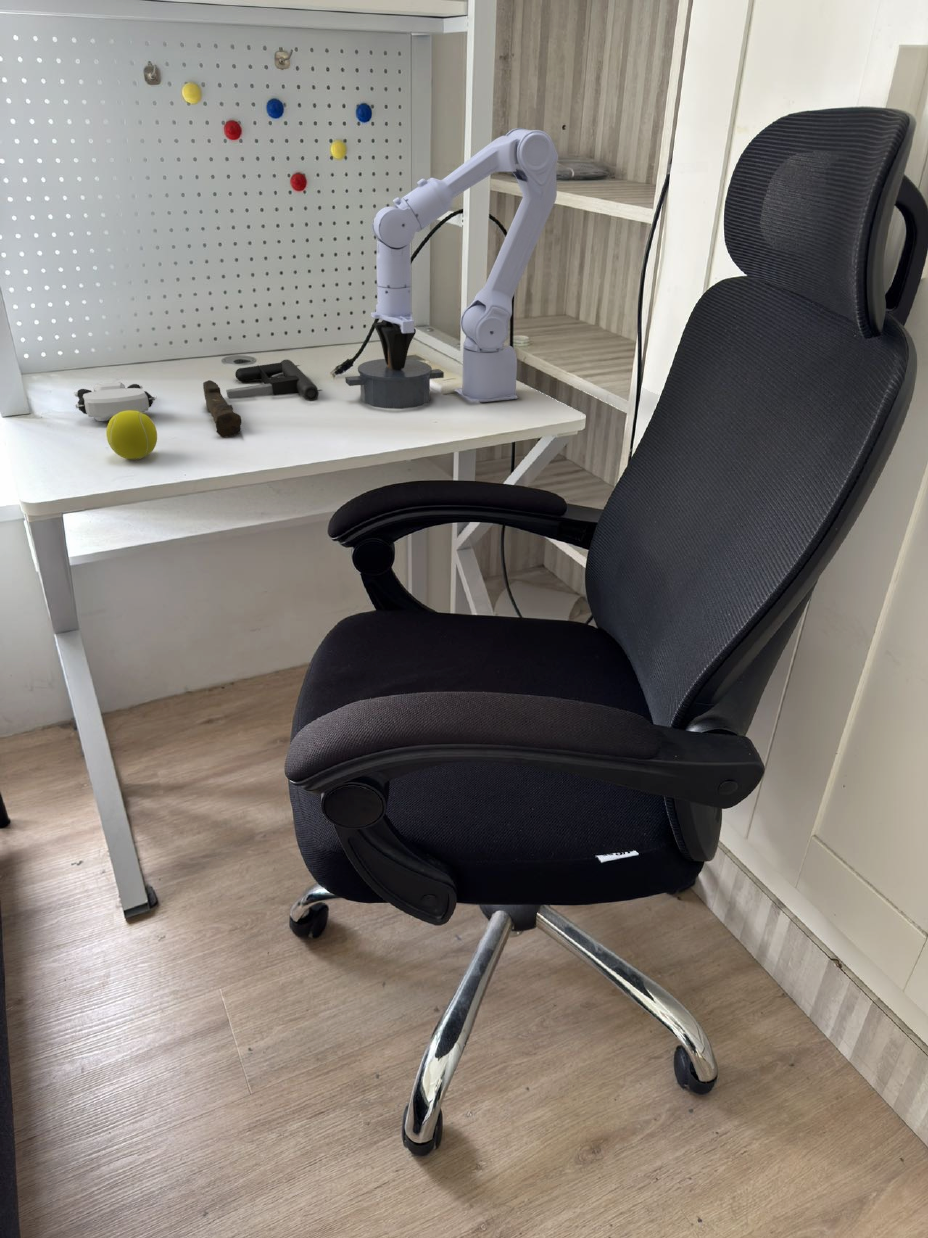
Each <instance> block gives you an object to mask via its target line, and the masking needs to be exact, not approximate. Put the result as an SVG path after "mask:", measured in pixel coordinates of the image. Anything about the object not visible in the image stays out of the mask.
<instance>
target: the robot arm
mask: <svg viewBox="0 0 928 1238" xmlns="http://www.w3.org/2000/svg"><path fill="white" fill-rule="evenodd" d="M559 158H560V156H559V154H558V152H557V148H556V146H555V143H554V141H553V139H552V138H551V136H550V135H549V134H548V133H547V132H545V131H543V130H539V129H533V130H532V129H526V128H524V127H516V128H513V129H511V130H509V131H508V132H507V133H506V134H505V135H501V136H499V137H497V138H496V139H494V140H492V141H491V142H490V143H489V144H487V145H486V146H485V147H483V148H482V149H480V150H479V151H478V152H477V153H475V154H474V155H473V156H471V157H470V158H469V159H467V160H466V161H465V162H463V163H462V164H461V165H460V166H458V167H457V168H456V169H454V170H453V171H452V172H451V173H449V174H448V175H447V176H445V177H444V178H442V179H437V178H435V177H430V178H428V179H427V180H426V179H425V178H421V179H420V180H418V181H416V184H417V187H416V188H414V189H412V190H411V191H409V192H407V194H406V195H404V196H402V197H401V198H400V197H399V196H398V197H396V198H394V199H393V200H392V202H393V204H394V206H385V207H383V208H381V209H380V210H378V212H376V214H375V217H374V219H373V223H372V224H371V229H372V232H373V235H374V237H375V238H376V256H375V257H376V261H375V263H376V297H377V298H376V300H377V303H376V304H375V311H373V312H370V317H371V318H372V319H376V320H377V319H379V320H381V321H377V322H376V321H375V322H374V323H373V327H374V329H375V331H376V333H377V335H378V337H379V338H378V339H379V341H380V344H381V349H382V353H383V357H384V358H383V359H385V361H386V364H387V365H388V350H389V358H390V364H391V367H392V369H403V368H404V366H405V362H406V359H407V357H408V353H409V348H410V346H411V344H412V341H413V339H414V337H415V335H416V332H417V329H416V328H415V320H414V319H413V312H412V257H411V244H412V242H413V240H414V238H415V235H416V233H419V232H422V230H424V229H425V228H427V227H428V226H429V225H431V224H433V223H434V222H435V221H437V220H438V219H440V218H441V217H443V216H444V215H446V214H447V213H449V212H450V210H451V209H452V203H453V200H454V198H456V197H458V196H460V194H462V193H464V192H465V191H467V190H469V189H470V188H472V187H474V186H475V185H476V184H478V183H479V182H481V181H482V180H484V179H486V178H488V177H489V176H490V175H492V174H494V173H512V174H513V176H514V177H515V179H516V181H517V184H518V187H519V190H520V193H521V195H522V198H521V201H520V202H519V205H518V208H517V209H516V212H515V215H514V217H513V219H512V222H511V224H510V226H509V228H508V231H507V233H506V236H505V238H504V239H503V242H502V245H501V247H500V249H499V252H498V255H497V257H496V259H495V261H494V264H493V266H492V268H491V270H490V274H489V275H488V278H487V280H486V282H485V285H484V286H483V287H482V288H481V289H480V290H479V291H478V292H477V293H476V294H475V297H474V299H473V301H472V302H471V304H470V305H468V306H467V307H466V308H465V309H464V310H463V312H462V314H461V316H460V328H461V331H462V332H463V334H464V335H465V339H464V342H463V343H462V379H461V381H462V385H461V388H454V391H455V392H456V393H458V394H459V395H460V396H461V397H463V398H464V399H466V400H467V401H468V402H479V403H487V402H498V401H507V400H508V401H509V400H517V399H518V395H516V394H517V374H518V358H517V354H516V351H515V349H514V348H513V346H511V345H505V342H506V341H507V339H508V336H509V323H510V320H511V317H512V315H513V302H512V301H513V297H514V295H515V293H516V291H517V288H518V287H519V284H520V283H521V280H522V277H523V275H524V273H525V270H526V269H527V266H528V264H529V261H530V260H531V257H532V255H533V252H534V250H535V248H536V245H537V244H538V241H539V239H540V237H541V235H542V232H543V230H544V228H545V225H546V223H547V221H548V219H549V216H550V214H551V212H552V210H553V207H554V205H555V203H556V200H557V196H558V195H557V193H558V190H557V188H558V187H557V165H558V162H559Z"/></svg>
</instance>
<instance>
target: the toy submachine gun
mask: <svg viewBox="0 0 928 1238" xmlns="http://www.w3.org/2000/svg"><path fill="white" fill-rule="evenodd" d="M299 366H301V364H297V365H296V364H295V363H294V362H293V361H292V360H290V359H283V360H281V361H280V362H275V363H266V364H261V365H253V366H246V367H239V368H237V369H236V371H235V372H234V373H235V378H236V380H237V381H239V382H242V383H245V382H253V381H259V380H260V381H261V382H262V383H263V384H256V385H250V386H249V385H248V386H242V387H236V388H229V389H228V388H227V389H226V390H225V391H226V397H227V398H228V399H240V398H251V397H261V396H272V395H273V396H283V395H293V394H294V395H295V394H296V395H297V394H300V395H301V397H302V398H303V399H305V400H307V401H312V402H313V401H315V400H316V399H317V398H318V397H319V392H321V391H322V389H318V387H317V385H315V383H313V381H312V380H311V379H310V378H309V377H308V376H306V374H305V373H304V372H303V371H302V369H300V368H299Z"/></svg>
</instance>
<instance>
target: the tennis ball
mask: <svg viewBox="0 0 928 1238" xmlns="http://www.w3.org/2000/svg"><path fill="white" fill-rule="evenodd" d="M157 431H158V430H157V427H156V425H155V423H154V422H153V420H152V419H151V417H149V415H147V414H145V413H144V412H143V413H142V412H139V411H133V410H128V411H122V412H119V413H118V414H116V415H114V416H113V417H112V418H111V419H110V420H108V424H107V426H106V440H107V443H108V446H109V447H110V449H111V450H112V451H113V453H115V454H116V455H117V456H119V457H121V458H123V459H126V460H140V459H143V458H145V457H147V456H149V455H150V454H151V453H152V452H153V451H154V449H155V448H156V445H157V441H158V432H157Z"/></svg>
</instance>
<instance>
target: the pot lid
mask: <svg viewBox="0 0 928 1238" xmlns="http://www.w3.org/2000/svg"><path fill="white" fill-rule="evenodd" d="M432 370H433V367H432V366H431V365H430V364H428V363H427V362H424V361H420V360H416V359H409V358H406V362H405V366H404V368H403V369H392V367H391V364H390V358H389V350H388V365H387V364H386V361H385V358H379V359H378V358H377V359H372V360H368V361H365V362H362V363H360V364H359V365H358V366H357V372H358V373H359V375H360V374H361V375H363V376H365V377H369V378H373V379H378V380H389V381H403V380H413V379H419V378H423V377H426V376H428V375H429V374H431V372H432Z"/></svg>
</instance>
